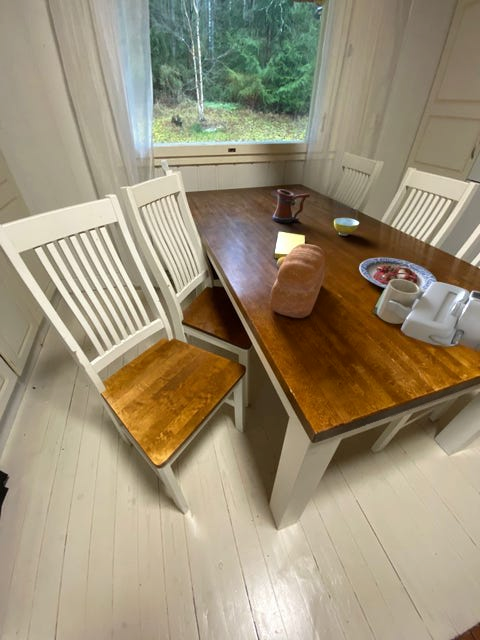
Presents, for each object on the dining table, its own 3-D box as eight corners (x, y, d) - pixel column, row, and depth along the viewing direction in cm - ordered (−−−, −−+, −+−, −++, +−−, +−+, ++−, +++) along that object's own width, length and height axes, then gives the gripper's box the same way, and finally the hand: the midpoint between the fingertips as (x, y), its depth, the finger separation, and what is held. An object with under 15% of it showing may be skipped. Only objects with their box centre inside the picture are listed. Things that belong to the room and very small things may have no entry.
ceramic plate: (358, 258, 113) (360, 251, 112) (427, 269, 107) (431, 262, 105) (357, 289, 94) (359, 282, 93) (440, 304, 88) (445, 297, 86)
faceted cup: (407, 313, 64) (422, 284, 59) (402, 327, 60) (417, 297, 55) (380, 304, 67) (391, 276, 62) (373, 317, 63) (385, 287, 58)
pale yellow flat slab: (303, 260, 111) (303, 238, 130) (304, 255, 110) (304, 233, 128) (274, 257, 113) (278, 236, 131) (274, 253, 112) (278, 231, 130)
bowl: (329, 229, 139) (331, 217, 135) (351, 230, 139) (355, 217, 135) (334, 238, 130) (337, 225, 126) (358, 238, 130) (362, 225, 126)
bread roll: (275, 262, 110) (275, 253, 107) (296, 262, 110) (298, 252, 108) (278, 272, 103) (279, 263, 101) (302, 272, 104) (303, 262, 101)
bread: (265, 312, 84) (269, 267, 74) (288, 273, 103) (293, 234, 93) (308, 323, 80) (318, 278, 70) (324, 281, 98) (334, 241, 89)
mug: (306, 218, 152) (310, 189, 143) (304, 225, 143) (309, 195, 134) (274, 215, 156) (276, 186, 146) (271, 222, 147) (273, 192, 137)
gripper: (447, 362, 50) (372, 328, 57) (468, 313, 62) (404, 290, 69) (465, 336, 46) (382, 303, 53) (484, 289, 58) (414, 267, 65)
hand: (394, 295), depth 61 cm, fingers closed on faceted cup, 6 cm apart
